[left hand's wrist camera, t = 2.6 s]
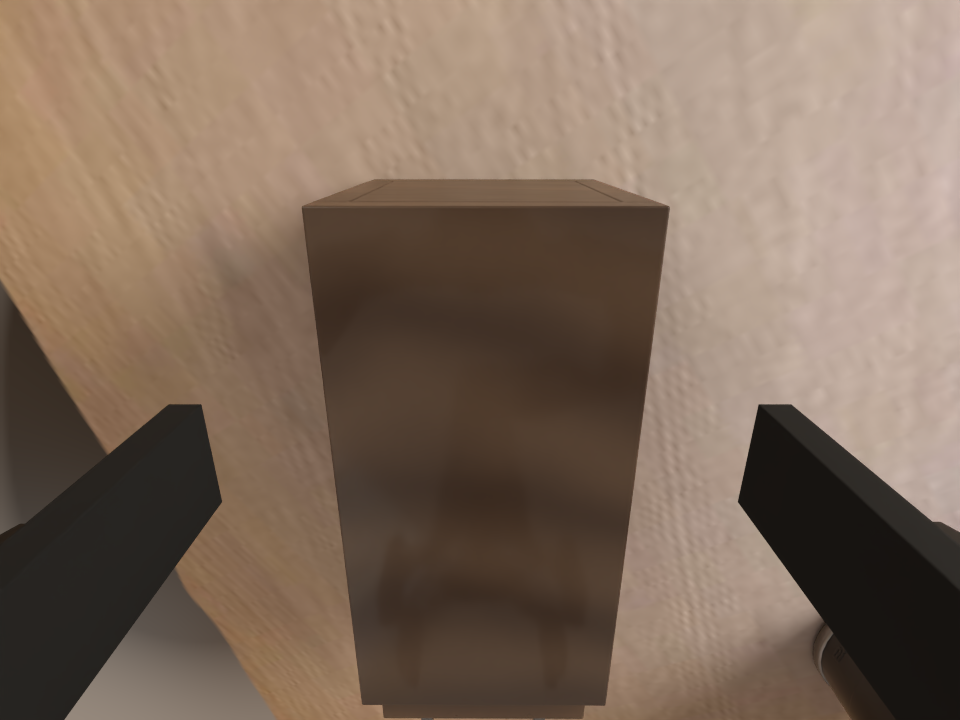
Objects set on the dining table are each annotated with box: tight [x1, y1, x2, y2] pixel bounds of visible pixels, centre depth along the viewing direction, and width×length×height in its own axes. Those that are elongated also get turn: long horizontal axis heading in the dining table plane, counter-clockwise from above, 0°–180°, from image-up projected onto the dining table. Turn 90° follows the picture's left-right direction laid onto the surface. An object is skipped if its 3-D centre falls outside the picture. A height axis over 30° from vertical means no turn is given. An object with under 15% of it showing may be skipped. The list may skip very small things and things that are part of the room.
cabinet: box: [302, 180, 670, 705], centre depth 24 cm, size 21×11×11 cm, turn 0°
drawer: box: [383, 705, 585, 720], centre depth 27 cm, size 26×9×9 cm, turn 0°
